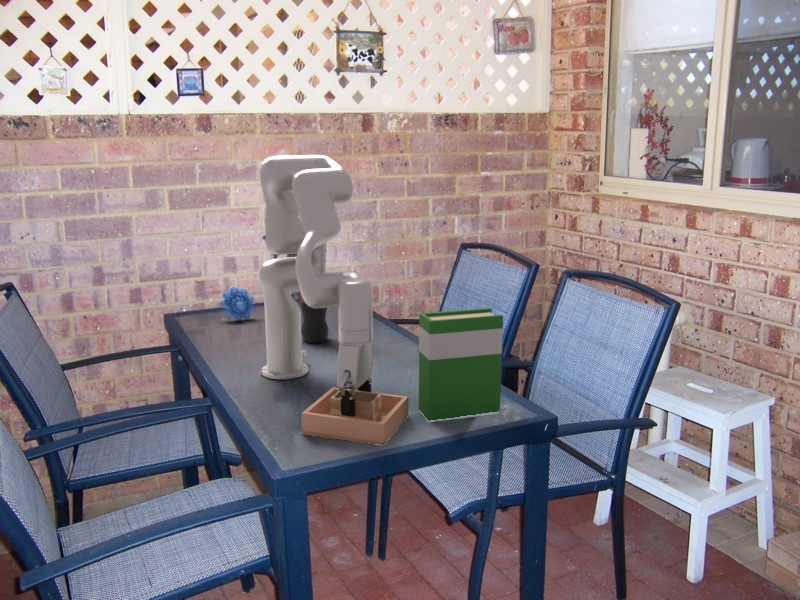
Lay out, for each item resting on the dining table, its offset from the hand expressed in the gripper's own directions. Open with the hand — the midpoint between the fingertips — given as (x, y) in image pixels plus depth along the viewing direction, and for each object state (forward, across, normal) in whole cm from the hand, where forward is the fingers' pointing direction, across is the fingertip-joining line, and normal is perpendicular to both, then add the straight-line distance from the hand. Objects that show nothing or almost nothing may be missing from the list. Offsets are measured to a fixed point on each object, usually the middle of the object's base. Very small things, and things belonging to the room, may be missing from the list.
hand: (356, 407), depth 165 cm
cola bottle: (+4, -57, -37) cm, 68 cm away
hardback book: (+5, -15, +20) cm, 25 cm away
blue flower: (+4, -69, -71) cm, 99 cm away
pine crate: (+3, 0, 0) cm, 3 cm away
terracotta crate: (+4, 0, 0) cm, 4 cm away
